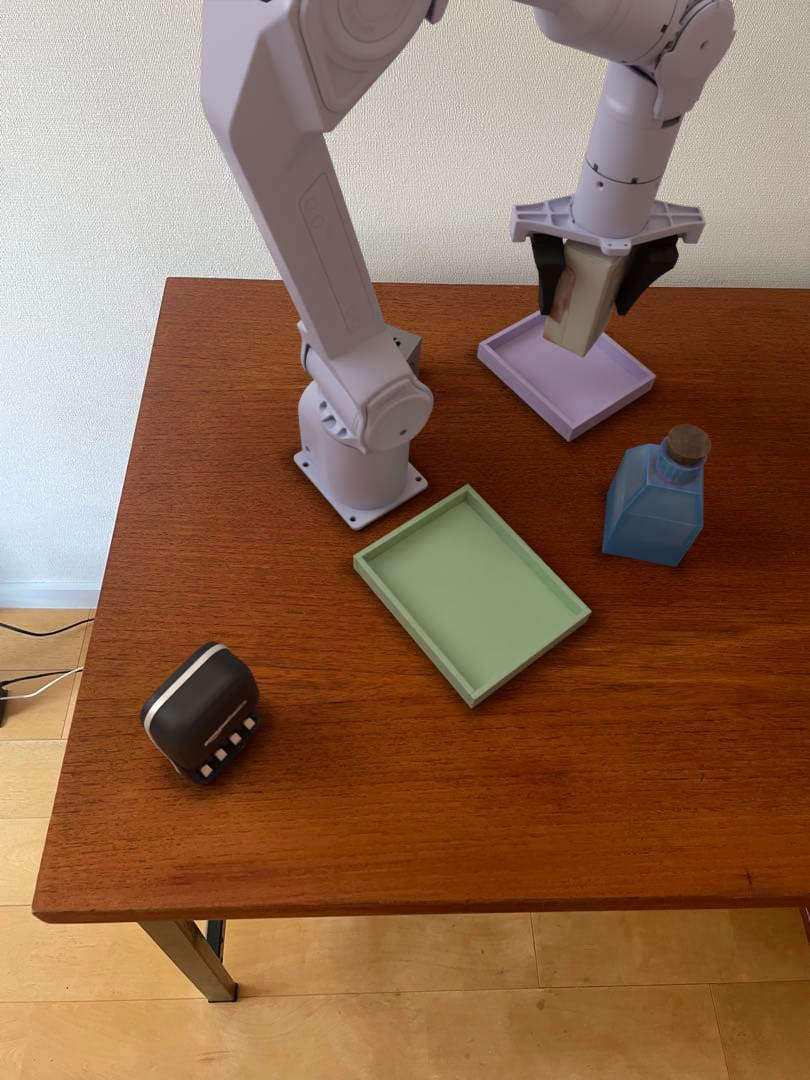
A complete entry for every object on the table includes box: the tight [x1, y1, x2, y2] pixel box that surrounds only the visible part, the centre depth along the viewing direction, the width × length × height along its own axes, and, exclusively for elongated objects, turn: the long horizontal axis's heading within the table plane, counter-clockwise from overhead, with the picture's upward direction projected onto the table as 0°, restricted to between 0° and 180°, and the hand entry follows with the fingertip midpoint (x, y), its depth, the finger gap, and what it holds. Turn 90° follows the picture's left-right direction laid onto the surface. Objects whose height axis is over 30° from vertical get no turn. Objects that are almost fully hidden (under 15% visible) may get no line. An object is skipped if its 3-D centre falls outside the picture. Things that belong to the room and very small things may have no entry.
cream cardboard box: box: [543, 239, 634, 357], centre depth 66 cm, size 5×4×10 cm
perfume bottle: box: [601, 423, 712, 568], centre depth 63 cm, size 6×6×12 cm
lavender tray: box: [476, 309, 657, 443], centre depth 77 cm, size 13×11×2 cm
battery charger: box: [139, 640, 262, 785], centre depth 52 cm, size 7×4×11 cm, turn 142°
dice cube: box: [385, 322, 423, 379], centre depth 74 cm, size 5×5×5 cm
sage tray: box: [352, 483, 592, 709], centre depth 64 cm, size 15×12×2 cm
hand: (581, 307), depth 68 cm, fingers closed on cream cardboard box, 6 cm apart
